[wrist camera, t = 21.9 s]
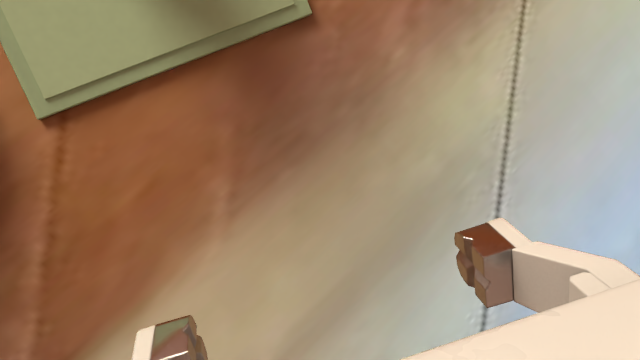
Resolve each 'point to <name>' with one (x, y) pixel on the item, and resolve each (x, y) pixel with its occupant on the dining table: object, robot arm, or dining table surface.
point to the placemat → (122, 41)
